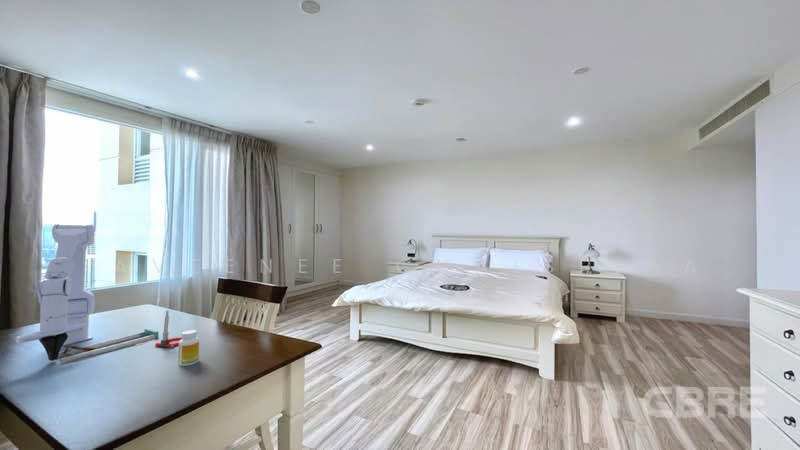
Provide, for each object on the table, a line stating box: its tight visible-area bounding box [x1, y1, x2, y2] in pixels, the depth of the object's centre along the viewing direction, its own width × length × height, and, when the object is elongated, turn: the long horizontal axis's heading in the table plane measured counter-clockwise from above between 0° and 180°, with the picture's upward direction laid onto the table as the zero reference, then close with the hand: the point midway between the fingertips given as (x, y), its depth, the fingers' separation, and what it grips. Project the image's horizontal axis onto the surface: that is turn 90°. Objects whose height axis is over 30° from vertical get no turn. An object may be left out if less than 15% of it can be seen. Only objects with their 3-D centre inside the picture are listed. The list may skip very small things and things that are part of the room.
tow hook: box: [154, 310, 182, 349], centre depth 114 cm, size 8×13×9 cm
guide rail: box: [57, 327, 159, 365], centre depth 108 cm, size 10×26×2 cm, turn 153°
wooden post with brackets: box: [59, 343, 97, 359], centre depth 101 cm, size 2×8×4 cm, turn 140°
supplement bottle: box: [177, 329, 200, 367], centre depth 97 cm, size 5×5×10 cm
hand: (52, 359), depth 96 cm, fingers closed
